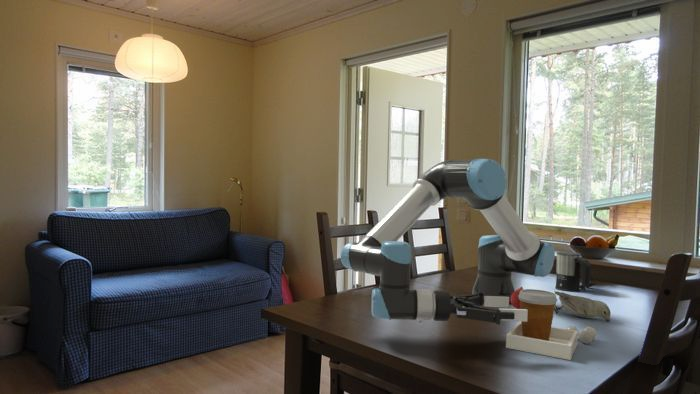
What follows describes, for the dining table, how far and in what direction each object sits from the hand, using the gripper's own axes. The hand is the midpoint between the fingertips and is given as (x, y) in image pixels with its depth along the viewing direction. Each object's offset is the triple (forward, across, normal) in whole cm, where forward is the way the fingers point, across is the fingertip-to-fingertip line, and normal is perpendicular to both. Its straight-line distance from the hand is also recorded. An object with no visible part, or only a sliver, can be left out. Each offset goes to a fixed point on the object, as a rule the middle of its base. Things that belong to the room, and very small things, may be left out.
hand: (517, 308), depth 121 cm
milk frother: (+50, -76, -9) cm, 92 cm away
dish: (+7, 0, -9) cm, 11 cm away
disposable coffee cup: (+6, -3, -9) cm, 11 cm away
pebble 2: (+19, -3, -9) cm, 21 cm away
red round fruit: (+13, -35, -9) cm, 39 cm away
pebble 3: (+22, -7, -9) cm, 24 cm away
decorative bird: (+30, -30, -10) cm, 44 cm away
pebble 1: (+17, -7, -9) cm, 21 cm away
